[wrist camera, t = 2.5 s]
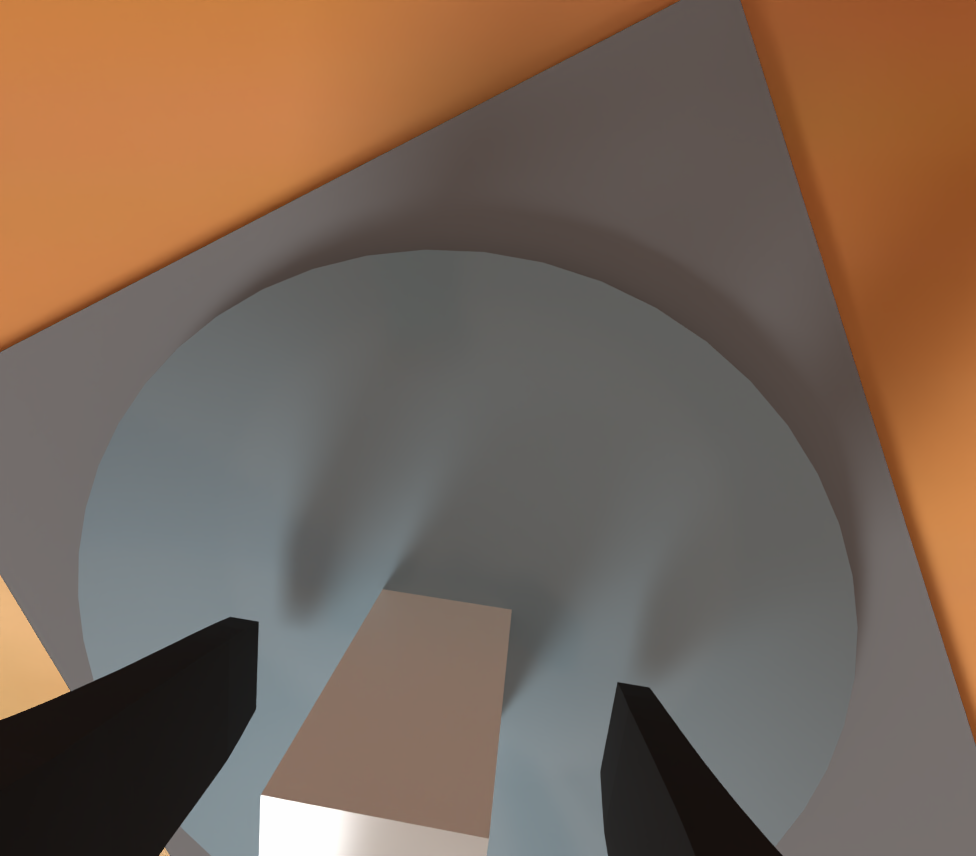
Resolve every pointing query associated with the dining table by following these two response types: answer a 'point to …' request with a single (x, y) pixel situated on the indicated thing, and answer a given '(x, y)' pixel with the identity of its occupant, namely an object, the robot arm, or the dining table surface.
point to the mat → (598, 255)
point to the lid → (470, 557)
